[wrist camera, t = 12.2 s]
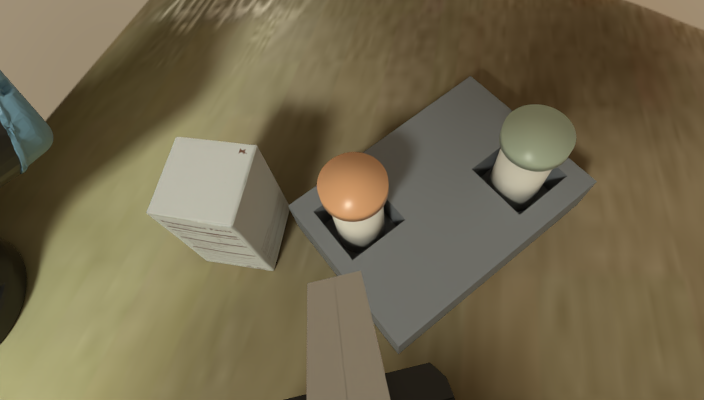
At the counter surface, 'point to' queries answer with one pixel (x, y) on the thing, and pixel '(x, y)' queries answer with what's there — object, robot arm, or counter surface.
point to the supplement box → (221, 202)
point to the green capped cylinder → (530, 152)
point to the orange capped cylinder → (355, 198)
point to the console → (440, 214)
